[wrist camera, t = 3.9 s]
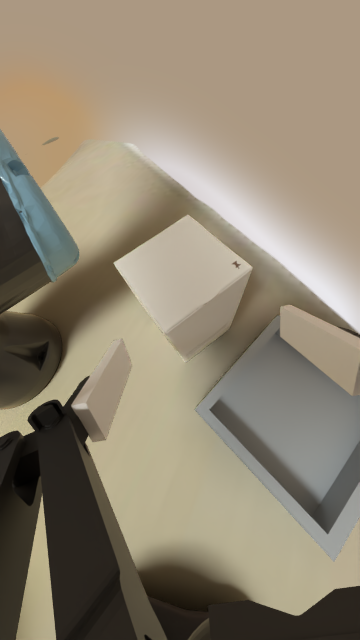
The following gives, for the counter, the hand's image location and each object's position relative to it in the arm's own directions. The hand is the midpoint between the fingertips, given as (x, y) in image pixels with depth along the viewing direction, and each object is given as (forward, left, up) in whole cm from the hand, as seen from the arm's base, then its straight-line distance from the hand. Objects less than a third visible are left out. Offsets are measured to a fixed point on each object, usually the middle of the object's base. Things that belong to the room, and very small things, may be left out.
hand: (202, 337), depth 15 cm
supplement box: (-5, +3, -13) cm, 14 cm away
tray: (+12, +3, -13) cm, 17 cm away
